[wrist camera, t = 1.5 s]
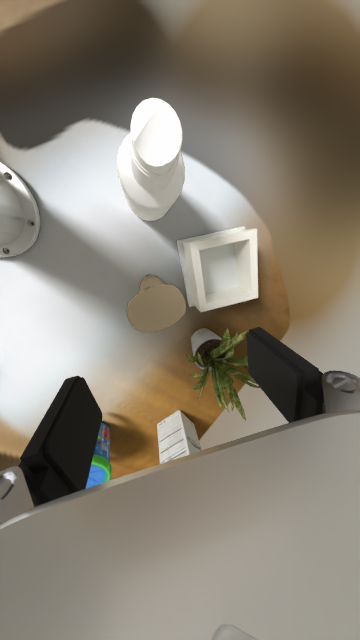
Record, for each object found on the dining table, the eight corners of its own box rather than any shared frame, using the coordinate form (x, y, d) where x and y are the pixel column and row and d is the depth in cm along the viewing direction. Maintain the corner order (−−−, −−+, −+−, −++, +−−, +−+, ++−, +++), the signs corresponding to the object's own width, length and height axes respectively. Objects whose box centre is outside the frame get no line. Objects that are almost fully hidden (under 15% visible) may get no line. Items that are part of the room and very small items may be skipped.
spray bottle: (177, 186, 29) (225, 110, 12) (159, 229, 31) (179, 213, 14) (135, 158, 26) (125, 21, 10) (118, 206, 28) (87, 156, 12)
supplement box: (194, 423, 50) (210, 477, 38) (171, 437, 50) (180, 495, 39) (179, 408, 47) (192, 462, 35) (155, 423, 47) (160, 481, 36)
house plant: (245, 349, 43) (298, 404, 28) (194, 378, 44) (220, 447, 29) (222, 299, 37) (274, 335, 23) (163, 333, 38) (176, 391, 23)
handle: (128, 277, 32) (118, 302, 19) (161, 263, 33) (176, 277, 19) (140, 301, 34) (139, 339, 21) (172, 288, 35) (191, 317, 21)
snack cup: (108, 453, 48) (100, 504, 39) (63, 451, 45) (43, 505, 36) (124, 409, 43) (120, 453, 34) (76, 403, 40) (56, 450, 31)
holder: (176, 240, 32) (183, 240, 26) (241, 226, 33) (261, 223, 27) (188, 305, 37) (196, 316, 31) (245, 291, 38) (262, 299, 32)
